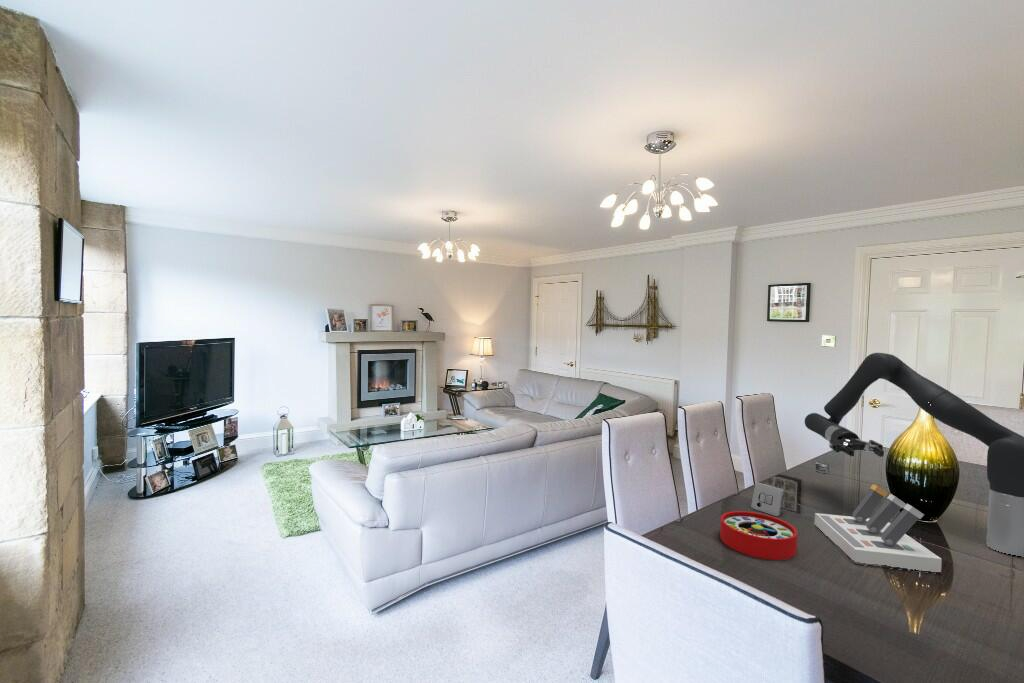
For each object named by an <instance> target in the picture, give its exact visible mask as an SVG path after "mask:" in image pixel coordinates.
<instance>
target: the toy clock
mask: <svg viewBox="0 0 1024 683" xmlns="http://www.w3.org/2000/svg"><path fill="white" fill-rule="evenodd" d="M719 529H720V530H719V532H720V533H719V538H720V540H721V542H722V543H723V544H724V545H725V546H727V547H728V548H731V550H734V551H735V552H739V553H740V554H744V555H746V556H750V557H753V558H757V559H762V560H772V561H782V560H781V559H785V560H789V559H788V558H790V559H792V558H794V557H795V556H796V555H797V553H796V552H798V530H797V529H796V528H795V527H794V526H793V525H791V524H790V523H789V522H787V521H785V520H782V519H781V518H778V517H776V516H773V515H769V514H764V513H758V512H752V511H745V510H744V511H743V510H742V511H741V510H740V511H739V510H738V511H736V510H735V511H729V512H725V513H723V514H722V515H721V516H720V528H719ZM795 554H796V555H795ZM794 555H795V556H794ZM793 556H794V557H793ZM791 557H792V558H791Z"/></svg>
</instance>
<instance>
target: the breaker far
mask: <svg viewBox="0 0 1024 683" xmlns="http://www.w3.org/2000/svg"><path fill="white" fill-rule="evenodd" d="M905 504H906V505H905V506H904V507H903V510H901V511H900V513H899V514H898V515H897V516H896V518H894V519H893V520H892V522H890V523H891V524H890V525H889V526H888V527H887V528H886V530H885V531H884V532H883V533H882V534H881V535H880V536H882V537H881V539H882V540H883V541H884V542H885V543H886V544H888V545H895V544H896V543H897V542H898V541H899V540H900V539H901V538H902V537H903V536H904V534H906V533H907V532H909V530H910V529H911V528H912V527H913V526H914V524H916V522H917V521H918V520H921V519H922V518H923V517H924V516H925V513H922V512H921V511H920V510H919V509H917V508H915V507H914V506H912V505H910V504H909V503H905Z"/></svg>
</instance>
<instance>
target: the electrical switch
mask: <svg viewBox="0 0 1024 683" xmlns="http://www.w3.org/2000/svg"><path fill="white" fill-rule="evenodd" d="M752 494H753V495H752V498H751V499H752V500H751V504H750V507H751V509H752V510H753V509H754V510H756V511H758V512H759V511H760V512H762V513H765V514H767V515H770V516H773V517H777V516H778V517H779V516H780V515H781V514H782V508H783V503H784V498H785V491H784V489H783V488H780V487H775V486H773V485H768V484H765V483H762V482H755V485H754V489H753V493H752Z"/></svg>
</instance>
